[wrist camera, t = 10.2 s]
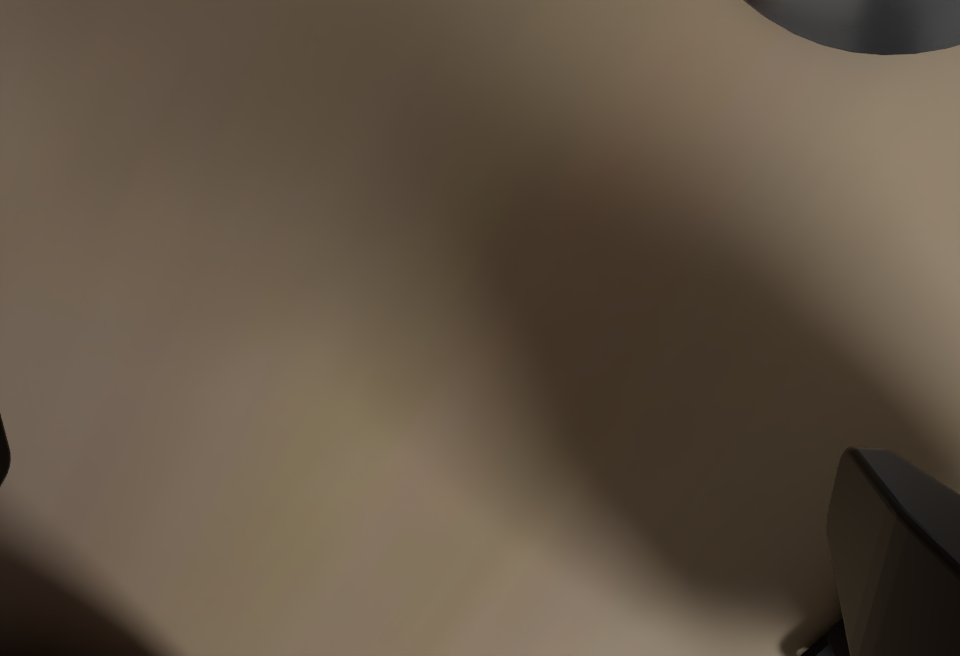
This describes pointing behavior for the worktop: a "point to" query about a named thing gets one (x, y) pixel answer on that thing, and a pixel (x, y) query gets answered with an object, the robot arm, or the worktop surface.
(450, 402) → the worktop surface
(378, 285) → the worktop surface
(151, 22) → the worktop surface
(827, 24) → the round metal saucer
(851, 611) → the robot arm
